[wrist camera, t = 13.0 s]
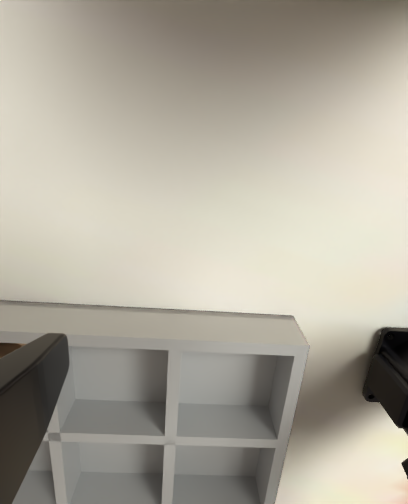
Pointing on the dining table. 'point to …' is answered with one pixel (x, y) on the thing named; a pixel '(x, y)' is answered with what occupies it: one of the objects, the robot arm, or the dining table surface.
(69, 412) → the tray
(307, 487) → the dining table surface
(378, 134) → the dining table surface
